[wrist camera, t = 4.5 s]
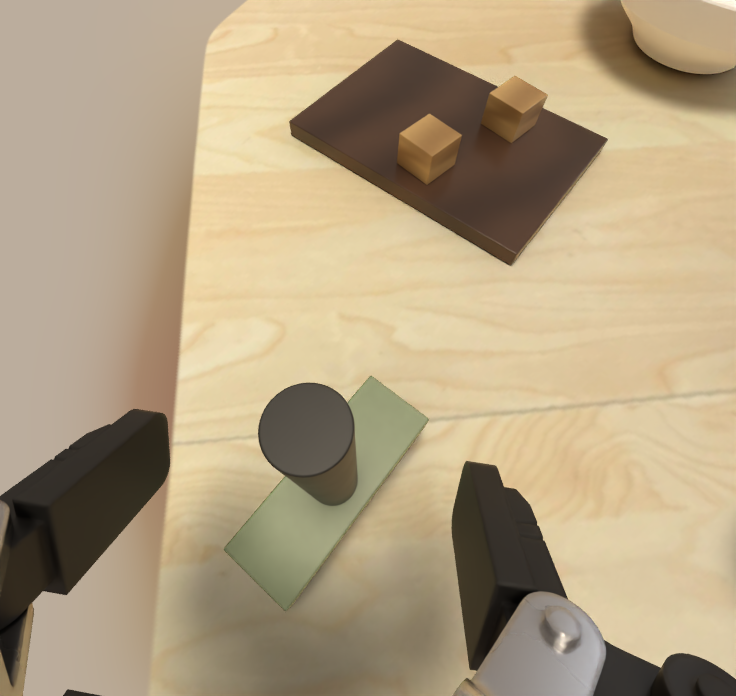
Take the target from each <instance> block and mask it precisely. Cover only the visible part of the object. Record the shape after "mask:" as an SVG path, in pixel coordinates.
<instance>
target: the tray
mask: <svg viewBox="0 0 736 696" xmlns="http://www.w3.org/2000/svg"><path fill="white" fill-rule="evenodd" d="M496 88H498V87H497V86H495V85H493V84H491V83H489V82H487V81H485V80H482V79H480V78H478V77H476V76H474V75H472V74H470V73H468V72H466V71H463V70H461V69H459V68H457V67H455V66H453V65H451V64H449V63H447V62H444V61H442V60H440V59H438V58H436V57H434V56H432V55H430V54H428V53H425V52H423V51H421V50H419V49H417V48H415V47H413V46H411V45H409V44H406V43H404V42H402V41H400V40H396V41H395V42H394V43H392V44H391V45H390V46H388V47H387V48H386V49H384V50H383V51H382V52H380V53H379V54H378V55H376V56H375V57H374V58H372V59H371V60H370V61H368V62H367V63H366V64H364V65H363V66H362V67H361V68H359V69H358V70H357V71H355V72H354V73H353V74H351V75H350V76H349V77H347V78H346V79H345V80H343V81H342V82H341V83H339V84H338V85H337V86H335V87H334V88H333V89H331V90H330V91H329V92H327V93H326V94H325V95H323V96H322V97H321V98H319V99H318V100H317V101H316V102H314V103H313V104H312V105H310V106H309V107H308V108H306V109H305V110H304V111H302V112H301V113H300V114H298V115H297V116H296V117H294V118H293V119H292V120H290V121H289V123H290V129H291V134H292V135H293V136H294V137H296V138H298V139H299V140H301V141H303V142H304V143H306V144H308V145H310V146H311V147H313V148H315V149H316V150H318V151H320V152H321V153H323V154H325V155H326V156H328V157H330V158H331V159H333V160H335V161H336V162H338V163H340V164H341V165H343V166H345V167H346V168H348V169H350V170H352V171H353V172H355V173H357V174H358V175H360V176H362V177H363V178H365V179H367V180H368V181H370V182H372V183H373V184H375V185H377V186H378V187H380V188H382V189H383V190H385V191H387V192H388V193H390V194H392V195H393V196H395V197H397V198H399V199H400V200H402V201H404V202H405V203H407V204H409V205H410V206H412V207H414V208H415V209H417V210H419V211H420V212H422V213H424V214H425V215H427V216H429V217H430V218H432V219H434V220H435V221H437V222H439V223H441V224H442V225H444V226H446V227H447V228H449V229H451V230H452V231H454V232H456V233H457V234H459V235H461V236H462V237H464V238H466V239H467V240H469V241H471V242H472V243H474V244H476V245H477V246H479V247H481V248H483V249H484V250H486V251H488V252H489V253H491V254H493V255H494V256H496V257H498V258H499V259H501V260H503V261H504V262H506V263H508V264H509V265H512V264H513V262H514V261H515V260H516V259H517V257H518V256H519V255H520V253H521V252H522V251H523V250H524V248H525V247H526V246H527V245H528V243H529V242H530V241H531V239H532V238H533V237H534V236H535V234H536V233H537V232H538V231H539V229H540V228H541V227H542V225H543V224H544V223H545V222H546V220H547V219H548V218H549V217H550V215H551V214H552V213H553V211H554V210H555V209H556V208H557V206H558V205H559V204H560V203H561V201H562V200H563V199H564V197H565V196H566V195H567V194H568V192H569V191H570V190H571V189H572V187H573V186H574V185H575V184H576V182H577V181H578V180H579V178H580V177H581V176H582V175H583V173H584V172H585V171H586V170H587V168H588V167H589V166H590V164H591V163H592V162H593V161H594V159H595V158H596V157H597V156H598V154H599V153H600V152H601V150H602V148H603V147H604V145H605V144H606V142H607V140H608V139H607V138H605V137H603V136H601V135H599V134H596V133H594V132H592V131H590V130H588V129H586V128H584V127H582V126H580V125H577V124H575V123H573V122H571V121H569V120H567V119H565V118H563V117H561V116H558V115H556V114H554V113H552V112H550V111H548V110H546V109H544V108H542V110H541V112H540V115H539V117H538V119H537V122H536V124H535V126H533V127H532V128H531V129H529V130H528V131H527V132H525V133H524V134H523V135H522V136H520V137H519V138H518V139H516V140H515V141H514V142H512V143H510V142H509V141H507V140H505V139H504V138H502V137H501V136H499V135H498V134H496V133H495V132H493V131H491V130H490V129H488V128H487V127H485V126H484V125H482V124H481V121H482V117H483V114H484V111H485V107H486V104H487V100H488V97H489V94H490V92H492V91H493V90H495V89H496ZM428 114H431V115H432V116H434V117H435V118H437V119H438V120H440V121H441V122H443V123H444V124H446V125H447V126H449V127H450V128H452V129H453V130H455V131H456V132H458V133H459V134H461V135H462V138H461V141H460V145H459V149H458V153H457V157H456V161H455V165H453V166H452V167H451V168H449V169H448V170H447V171H445V172H444V173H443V174H441V175H440V176H439V177H437V178H436V179H434V180H433V181H432V182H430V183H429V184H428V185H426V184H425V183H423V182H422V181H421V180H419V179H418V178H417V177H415V176H414V175H412V174H411V173H410V172H408V171H407V170H406V169H404V168H403V167H402V166H400V165H399V164H398V163H397V156H398V145H399V135H400V133H401V132H403V131H404V130H406V129H407V128H409V127H410V126H412V125H413V124H415V123H416V122H418V121H419V120H421V119H422V118H424V117H425V116H427V115H428Z"/></svg>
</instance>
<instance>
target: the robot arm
mask: <svg viewBox="0 0 736 696" xmlns="http://www.w3.org/2000/svg"><path fill="white" fill-rule="evenodd" d="M169 467H170V452H169V437H168V422H167V418H166V416H165V414H163V413H158V412H152V411H145V410H139V409H133V410H131V411H129V412H128V413H127V414H125V415H124V416H122V417H121V418H120V419H118V420H117V421H116V422H114V423H113V424H112V425H110V424H109V425H106V426H104V427H101V428H99V429H97V430H94V431H92V432H90V433H87V434H86V435H84V436H83V437H82V438H80V439H79V440H77V441H76V442H74V443H73V444H72V445H70V446H69V449H65V450H64V451H62V452H61V453H59V454H58V455H56V456H55V458H54V460H50V461H48V462H47V463H45V464H44V465H43V466H41V467H40V468H38V469H37V470H36V471H34V472H33V473H31V474H30V475H29V476H27V477H26V478H25V479H23V480H22V481H20V482H19V483H18V484H16V485H15V486H13V487H12V488H11V489H9V490H8V491H7V492H5V493H4V494H2V495H1V496H0V696H23V689H24V682H25V674H26V667H27V660H28V652H29V645H30V638H31V630H32V623H33V616H34V608H33V604H32V602H33V601H34V600H35V599H36V598H37V597H38V596H39V595H40V594H41V592H42V591H47V592H52V593H57V594H63V595H67V594H68V593H69V592H70V591H71V589H72V588H73V587H74V586H75V585H76V584H77V582H78V581H79V580H80V579H81V578H82V577H83V576H84V574H85V573H86V572H87V571H88V570H89V569H90V568H91V566H92V565H93V564H94V563H95V562H96V560H98V558H99V557H100V556H101V555H102V554H103V553H104V551H105V550H106V549H107V548H108V547H109V545H110V544H111V543H112V542H113V541H114V540H115V539H116V538H117V537H118V535H119V534H120V533H121V532H122V531H123V529H124V528H125V527H126V526H127V525H128V524H129V523H130V522H131V520H132V519H133V518H134V517H135V516H136V515H137V513H138V512H139V511H140V510H141V509H142V508H143V506H144V505H145V504H146V503H147V502H148V501H149V500H150V499H151V497H152V496H153V495H154V494H155V493H156V491H157V490H158V489H159V488H160V487H161V486H162V484H163V483H164V481H165V479H166V477H167V475H168V472H169ZM452 538H453V546H454V553H455V561H456V569H457V576H458V584H459V592H460V599H461V607H462V615H463V622H464V630H465V638H466V645H467V653H468V661H469V668H470V670H475V671H477V672H476V674H475V675H474V677H473V678H472V679H471V680H469V679H468V678H466V679H465V680H464V681H463V682H462V683H461V684H460V686H459V687H458V688H457V690H456V691H455V693H454V694H453V696H736V679H735V678H733V677H732V676H731V675H729V674H728V673H727V672H725V671H724V670H722V669H721V668H719V667H718V666H716V665H714V664H712V663H711V662H709V661H707V660H704V659H702V658H700V657H697V656H694V655H690V654H684V653H679V654H673V655H671V656H669V657H668V658H667V659H666V660H665V662H664V664H663V666H662V667H661V668H660V667H658V666H656V665H653V664H651V663H649V662H647V661H645V660H643V659H640V658H638V657H636V656H634V655H632V654H630V653H627V652H625V651H623V650H621V649H619V648H617V647H615V646H613V645H611V644H610V643H608V642H607V641H605V640H604V639H603V637H602V635H601V633H600V631H599V629H598V627H597V626H596V625H595V623H594V622H593V620H592V619H591V618H590V617H589V616H588V615H587V614H586V613H585V612H584V611H583V610H582V609H581V608H580V607H578V606H577V605H576V604H574V603H573V602H571V601H569V600H568V598H567V596H566V593H565V591H564V588H563V586H562V583H561V581H560V578H559V576H558V573H557V571H556V568H555V566H554V563H553V561H552V558H551V556H550V553H549V551H548V548H547V546H546V543H545V541H543V536H542V533H541V531H540V528H539V526H537V521H536V518H535V516H534V513H533V511H532V508H531V506H530V504H529V503H528V502H527V501H526V500H525V499H524V498H523V497H522V495H521V494H520V493H519V492H518V491H517V490H516V489H512V488H506V487H504V486H503V483H502V480H501V477H500V474H499V471H498V469H497V467H496V466H495V465H489V464H483V463H476V462H470V461H466V462H465V464H464V467H463V470H462V474H461V479H460V483H459V487H458V491H457V495H456V499H455V504H454V508H453V514H452ZM63 696H100V695H94V694H89V693H84V692H79V691H74V690H67V691H66V692H65V694H64V695H63Z"/></svg>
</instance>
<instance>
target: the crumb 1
mask: <svg viewBox="0 0 736 696" xmlns="http://www.w3.org/2000/svg"><path fill="white" fill-rule="evenodd" d="M461 138H462V135H461V134H459V133H458V132H456V131H455V130H453V129H452V128H450V127H449V126H447V125H446V124H444V123H443V122H441V121H440V120H438V119H437V118H435V117H434V116H432V115H431V114H428V115H427V116H425V117H424V118H422V119H421V120H419V121H418V122H416V123H415V124H413V125H412V126H410V127H409V128H407V129H406V130H404V131H403V132H401V133H400V135H399V145H398V156H397V163H398V164H399V165H400V166H402V167H403V168H404V169H406V170H407V171H408V172H410V173H411V174H412V175H414V176H415V177H417V178H418V179H419V180H421V181H422V182H423V183H425V184H426V185H428V184H429V183H430V182H432V181H433V180H434V179H436V178H437V177H439V176H440V175H441V174H443V173H444V172H445V171H447V170H448V169H449V168H451V167H452V166H453V165H455V161H456V157H457V153H458V149H459V145H460V141H461Z"/></svg>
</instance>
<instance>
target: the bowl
mask: <svg viewBox="0 0 736 696" xmlns="http://www.w3.org/2000/svg"><path fill="white" fill-rule="evenodd" d="M620 2H621V4H622V6H623V8H624V10H625V12H626V14H627V16H628V18H629V20H630V21H631V23H632V26H633V36H634V40H635V42H636V43H637V45H638V46H639V47H640V49H641V50H642V51H643V52H644V53H646V54H647V55H648V56H649V57H651V58H652V59H654V60H656V61H657V62H659V63H661V64H663V65H666V66H668V67H671V68H674V69H677V70H680V71H684V72H689V73H697V74H715V73H721V72H725V71H728V70H730V69H732V68H734V67H736V0H620Z"/></svg>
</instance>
